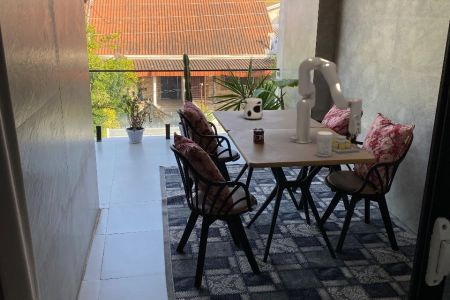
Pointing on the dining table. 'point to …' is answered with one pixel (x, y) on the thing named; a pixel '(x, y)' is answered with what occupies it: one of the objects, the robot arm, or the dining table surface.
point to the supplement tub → (324, 144)
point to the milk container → (253, 108)
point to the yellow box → (341, 146)
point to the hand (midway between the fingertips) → (353, 143)
